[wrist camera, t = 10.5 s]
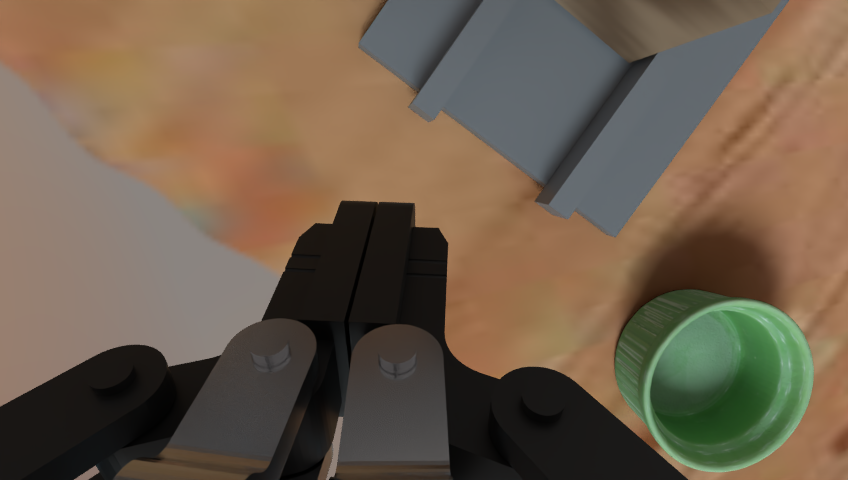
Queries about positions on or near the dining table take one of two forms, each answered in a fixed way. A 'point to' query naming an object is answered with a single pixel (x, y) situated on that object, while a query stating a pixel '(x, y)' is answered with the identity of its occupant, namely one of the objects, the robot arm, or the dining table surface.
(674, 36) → the brown bottle-shaped block
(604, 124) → the mount
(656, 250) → the dining table surface
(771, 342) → the ramekin
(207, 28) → the dining table surface
